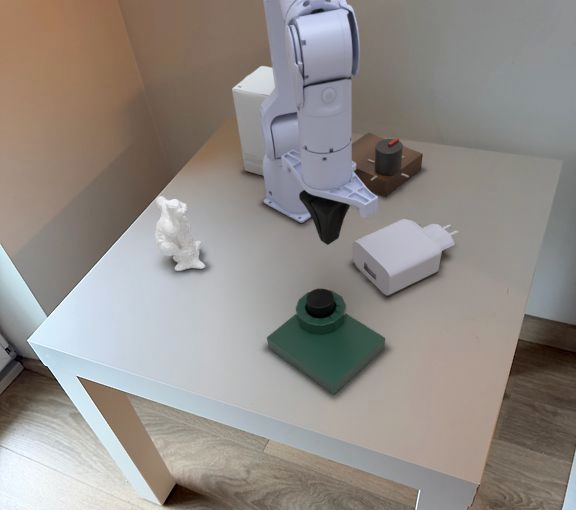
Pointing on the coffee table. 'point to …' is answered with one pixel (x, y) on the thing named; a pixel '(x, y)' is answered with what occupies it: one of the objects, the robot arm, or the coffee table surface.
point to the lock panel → (366, 165)
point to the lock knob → (388, 156)
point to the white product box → (252, 115)
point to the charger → (401, 254)
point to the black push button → (320, 303)
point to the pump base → (326, 344)
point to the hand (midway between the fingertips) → (329, 239)
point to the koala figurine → (176, 235)
